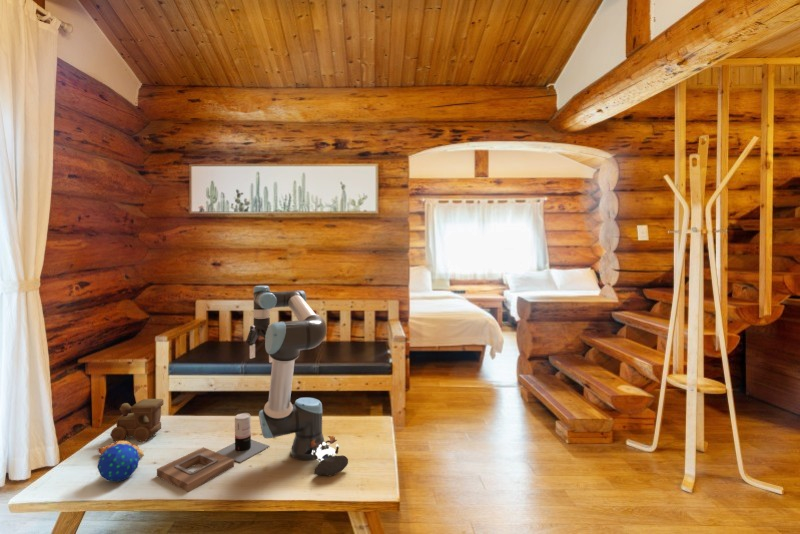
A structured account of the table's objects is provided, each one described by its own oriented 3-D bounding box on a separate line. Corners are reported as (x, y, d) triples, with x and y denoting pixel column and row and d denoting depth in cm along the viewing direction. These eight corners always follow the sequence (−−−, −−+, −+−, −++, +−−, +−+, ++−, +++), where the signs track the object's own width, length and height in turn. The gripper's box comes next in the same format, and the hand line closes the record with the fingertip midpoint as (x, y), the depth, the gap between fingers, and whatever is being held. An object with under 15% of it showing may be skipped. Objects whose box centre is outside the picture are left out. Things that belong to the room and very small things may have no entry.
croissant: (148, 463, 175) (154, 443, 179) (132, 463, 166) (139, 442, 170) (104, 458, 178) (111, 439, 181) (86, 458, 169) (93, 438, 172)
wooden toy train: (165, 431, 198) (164, 397, 197) (152, 442, 186) (151, 407, 186) (123, 431, 197) (122, 398, 196) (107, 442, 186) (106, 407, 185)
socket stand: (233, 466, 167) (233, 458, 167) (188, 491, 150) (187, 483, 149) (203, 453, 177) (203, 446, 177) (156, 476, 159) (156, 467, 159)
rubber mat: (269, 447, 183) (269, 445, 183) (240, 463, 170) (240, 462, 170) (245, 438, 191) (245, 437, 191) (215, 453, 177) (215, 452, 177)
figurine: (315, 466, 156) (306, 438, 172) (316, 487, 158) (306, 457, 174) (350, 456, 162) (338, 430, 178) (350, 477, 164) (338, 449, 180)
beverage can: (232, 448, 180) (232, 416, 180) (246, 443, 185) (246, 411, 184) (239, 454, 176) (238, 420, 175) (253, 448, 181) (253, 415, 180)
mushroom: (114, 445, 168) (131, 430, 162) (136, 471, 168) (153, 457, 162) (79, 469, 155) (96, 454, 149) (103, 498, 155) (121, 484, 149)
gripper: (285, 318, 196) (286, 362, 197) (250, 313, 208) (250, 354, 209) (274, 321, 189) (274, 365, 190) (238, 316, 201) (238, 358, 202)
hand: (261, 360), depth 200 cm, fingers open, 13 cm apart
